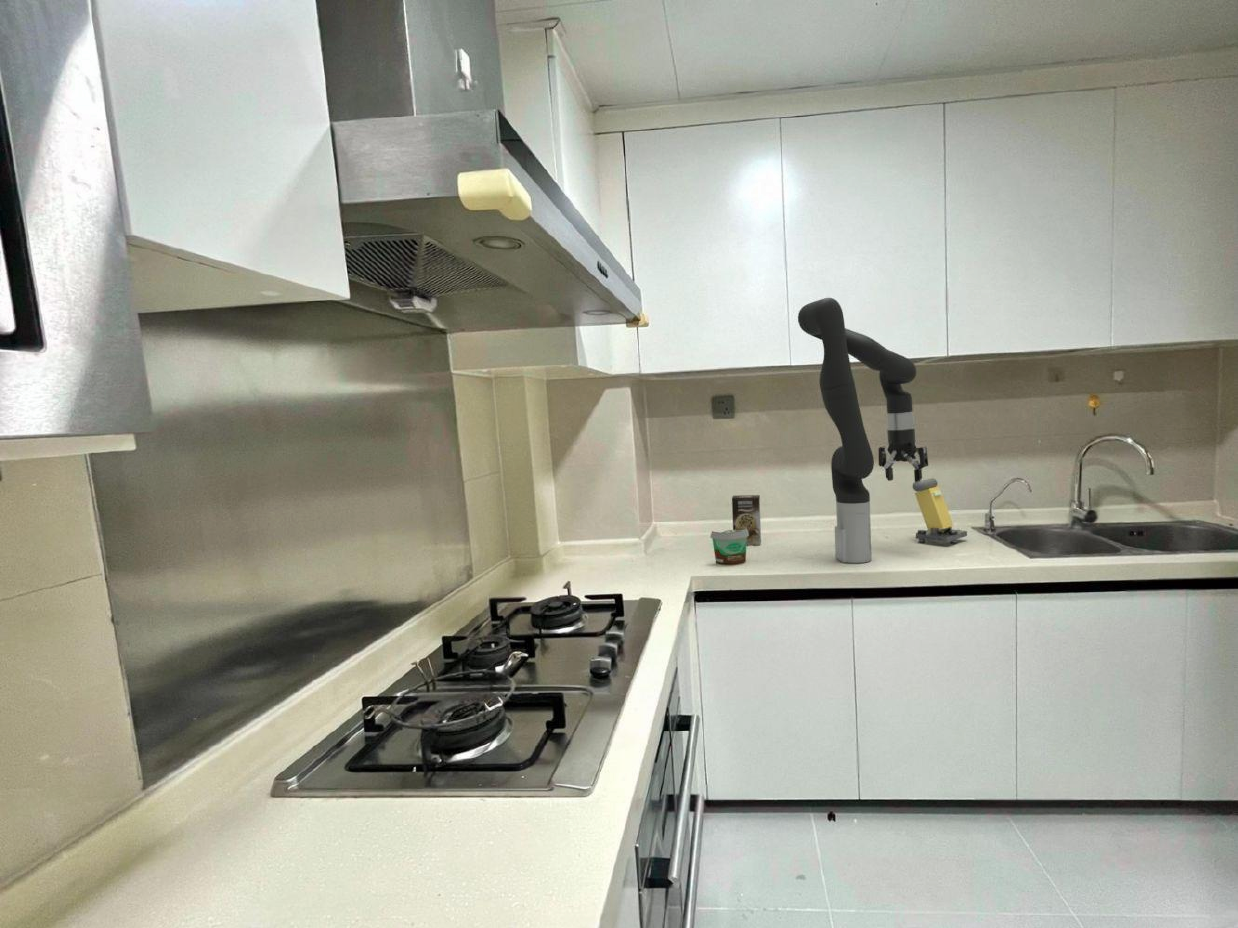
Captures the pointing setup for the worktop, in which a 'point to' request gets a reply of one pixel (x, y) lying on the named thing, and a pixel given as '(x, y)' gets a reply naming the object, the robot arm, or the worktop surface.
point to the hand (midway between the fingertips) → (903, 480)
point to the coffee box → (747, 516)
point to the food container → (730, 546)
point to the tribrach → (940, 535)
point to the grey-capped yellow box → (932, 505)
